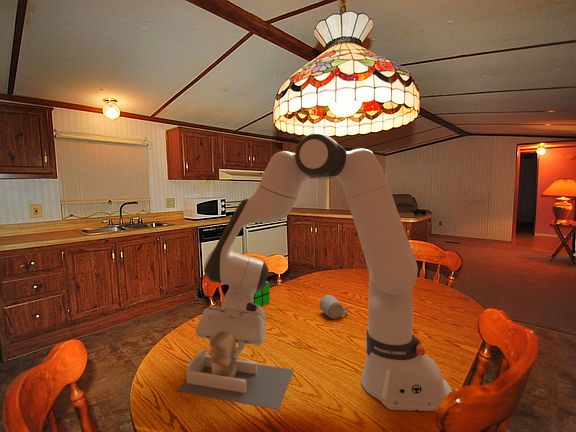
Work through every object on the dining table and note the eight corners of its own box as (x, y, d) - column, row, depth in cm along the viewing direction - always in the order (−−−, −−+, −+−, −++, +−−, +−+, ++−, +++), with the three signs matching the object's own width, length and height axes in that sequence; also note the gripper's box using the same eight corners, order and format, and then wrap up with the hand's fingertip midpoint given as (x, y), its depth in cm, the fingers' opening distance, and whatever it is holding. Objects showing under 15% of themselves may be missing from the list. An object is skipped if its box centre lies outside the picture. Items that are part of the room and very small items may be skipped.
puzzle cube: (254, 298, 145) (254, 277, 144) (270, 303, 138) (269, 281, 137) (239, 304, 137) (238, 283, 136) (254, 310, 131) (254, 287, 130)
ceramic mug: (328, 321, 119) (328, 302, 118) (319, 313, 126) (319, 295, 126) (351, 317, 122) (352, 299, 122) (341, 309, 130) (341, 292, 129)
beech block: (236, 373, 86) (235, 333, 84) (229, 384, 81) (227, 342, 80) (220, 371, 87) (219, 331, 86) (212, 381, 82) (210, 340, 81)
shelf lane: (294, 371, 87) (293, 353, 86) (278, 411, 72) (278, 389, 71) (206, 358, 94) (206, 341, 93) (175, 392, 79) (174, 372, 78)
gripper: (201, 301, 91) (184, 349, 83) (265, 307, 86) (254, 358, 78) (209, 309, 96) (193, 355, 87) (270, 315, 91) (260, 365, 82)
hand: (222, 357), depth 82 cm, fingers closed on beech block, 5 cm apart
